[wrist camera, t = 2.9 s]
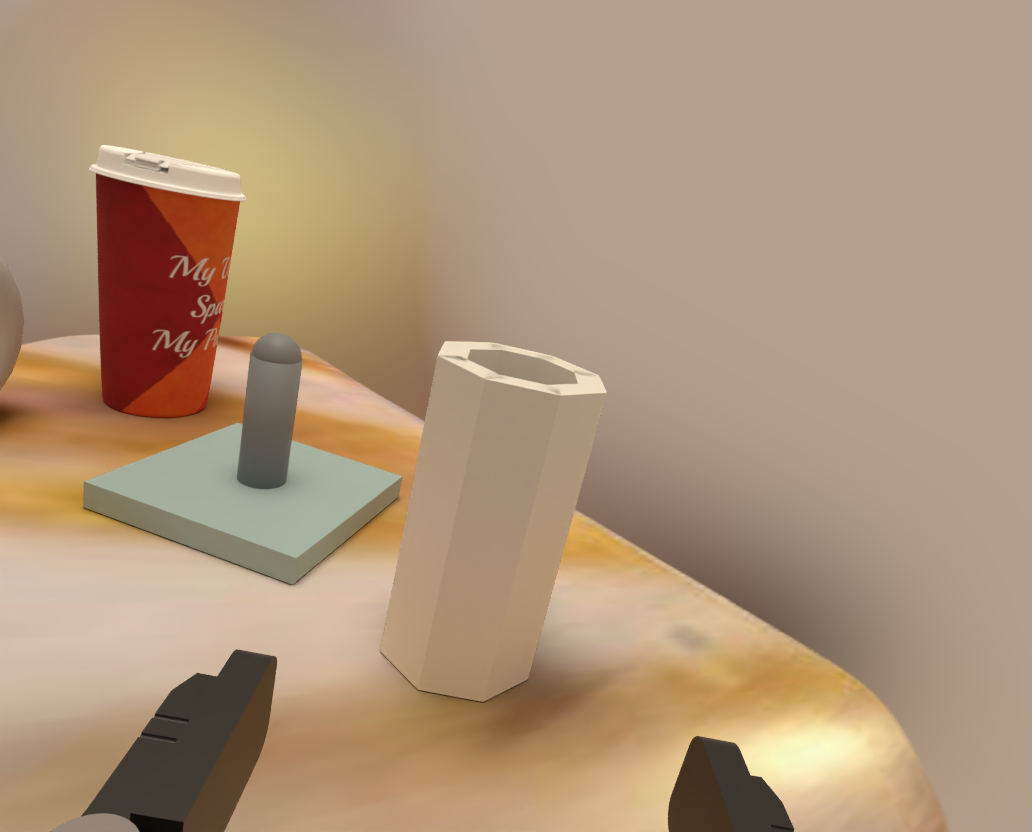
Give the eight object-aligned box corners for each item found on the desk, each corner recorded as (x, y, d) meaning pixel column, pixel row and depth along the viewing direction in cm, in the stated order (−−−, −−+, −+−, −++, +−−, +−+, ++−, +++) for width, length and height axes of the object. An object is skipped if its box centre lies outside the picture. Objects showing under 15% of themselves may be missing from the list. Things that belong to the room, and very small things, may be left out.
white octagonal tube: (370, 681, 23) (431, 367, 20) (398, 592, 28) (449, 333, 25) (528, 710, 23) (613, 407, 20) (526, 617, 28) (593, 364, 25)
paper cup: (198, 434, 38) (222, 174, 34) (52, 408, 37) (58, 137, 33) (241, 394, 45) (265, 177, 41) (121, 371, 44) (132, 146, 40)
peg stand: (82, 507, 29) (90, 316, 26) (235, 442, 38) (251, 297, 36) (292, 584, 27) (320, 386, 24) (398, 496, 36) (426, 347, 34)
